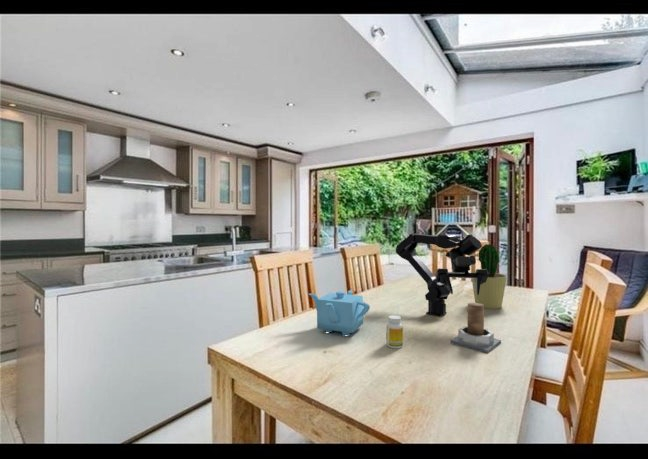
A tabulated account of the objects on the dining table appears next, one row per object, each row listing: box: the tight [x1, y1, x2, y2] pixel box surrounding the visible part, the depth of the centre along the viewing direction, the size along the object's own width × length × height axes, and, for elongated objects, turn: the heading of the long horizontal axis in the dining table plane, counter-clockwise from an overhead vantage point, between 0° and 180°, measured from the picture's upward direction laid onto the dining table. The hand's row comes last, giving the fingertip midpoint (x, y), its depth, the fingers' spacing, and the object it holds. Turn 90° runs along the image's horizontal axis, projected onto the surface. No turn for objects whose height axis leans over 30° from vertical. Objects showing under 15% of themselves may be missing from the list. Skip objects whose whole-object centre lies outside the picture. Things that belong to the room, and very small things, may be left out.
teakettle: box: [308, 289, 371, 335], centre depth 127 cm, size 19×19×15 cm
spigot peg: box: [467, 302, 485, 335], centre depth 113 cm, size 5×5×12 cm
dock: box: [449, 325, 502, 354], centre depth 113 cm, size 12×12×4 cm
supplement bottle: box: [385, 315, 404, 349], centre depth 111 cm, size 5×5×10 cm
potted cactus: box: [471, 243, 508, 310], centre depth 160 cm, size 15×15×30 cm
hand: (465, 294), depth 126 cm, fingers open, 9 cm apart
